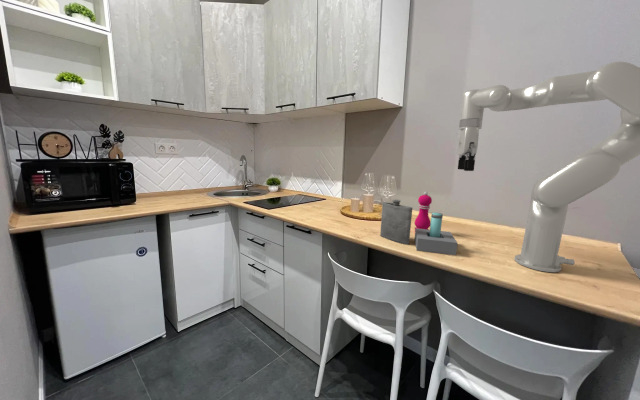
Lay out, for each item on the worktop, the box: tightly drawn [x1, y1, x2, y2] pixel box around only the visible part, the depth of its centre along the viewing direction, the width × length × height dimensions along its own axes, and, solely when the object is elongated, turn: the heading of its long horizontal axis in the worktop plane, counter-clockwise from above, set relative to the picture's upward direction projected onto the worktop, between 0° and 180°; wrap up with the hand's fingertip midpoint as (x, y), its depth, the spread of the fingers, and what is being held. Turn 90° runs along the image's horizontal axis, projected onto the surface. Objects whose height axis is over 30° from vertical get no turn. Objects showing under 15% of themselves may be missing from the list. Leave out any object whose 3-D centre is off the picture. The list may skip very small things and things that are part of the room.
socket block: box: [413, 227, 458, 256], centre depth 104 cm, size 14×14×5 cm
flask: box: [379, 199, 413, 246], centre depth 109 cm, size 4×14×18 cm, turn 39°
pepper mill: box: [414, 191, 433, 230], centre depth 121 cm, size 7×7×20 cm
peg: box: [429, 212, 444, 238], centre depth 103 cm, size 4×4×14 cm
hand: (465, 170), depth 99 cm, fingers open, 9 cm apart
